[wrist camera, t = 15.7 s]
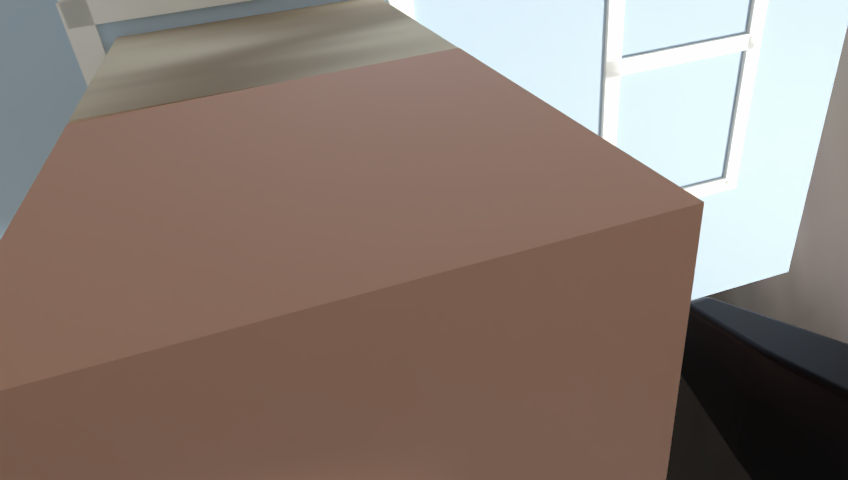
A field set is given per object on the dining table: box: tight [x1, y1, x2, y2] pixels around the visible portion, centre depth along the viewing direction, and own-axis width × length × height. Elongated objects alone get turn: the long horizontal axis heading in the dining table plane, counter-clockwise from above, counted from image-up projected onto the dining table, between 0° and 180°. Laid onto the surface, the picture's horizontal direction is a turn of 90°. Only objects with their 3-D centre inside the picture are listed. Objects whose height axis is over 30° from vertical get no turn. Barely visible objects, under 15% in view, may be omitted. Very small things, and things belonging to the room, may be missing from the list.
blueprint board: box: [0, 0, 848, 300], centre depth 14 cm, size 22×16×1 cm
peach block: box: [0, 48, 704, 480], centre depth 7 cm, size 5×5×5 cm
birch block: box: [69, 0, 458, 123], centre depth 11 cm, size 5×5×5 cm
